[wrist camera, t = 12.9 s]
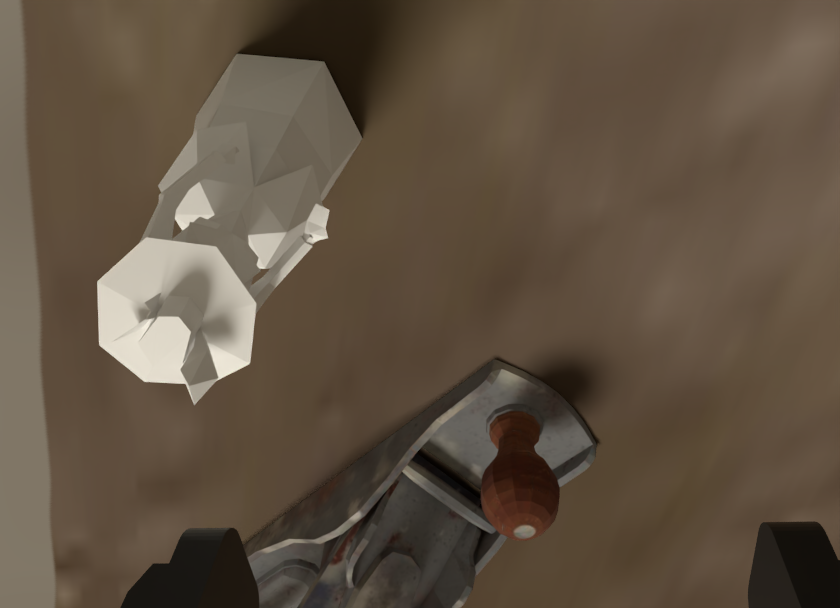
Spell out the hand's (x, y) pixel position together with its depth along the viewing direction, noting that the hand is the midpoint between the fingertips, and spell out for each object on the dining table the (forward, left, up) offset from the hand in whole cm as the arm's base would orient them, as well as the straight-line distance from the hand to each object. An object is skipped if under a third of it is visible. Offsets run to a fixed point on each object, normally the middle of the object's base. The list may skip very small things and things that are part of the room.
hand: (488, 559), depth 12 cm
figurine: (+9, +2, -26) cm, 28 cm away
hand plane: (+10, +30, -26) cm, 41 cm away
